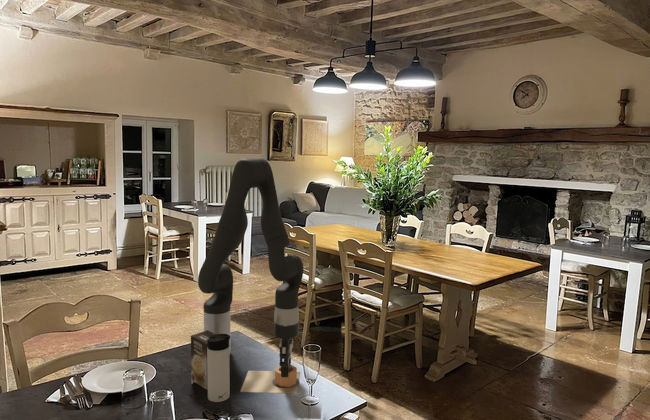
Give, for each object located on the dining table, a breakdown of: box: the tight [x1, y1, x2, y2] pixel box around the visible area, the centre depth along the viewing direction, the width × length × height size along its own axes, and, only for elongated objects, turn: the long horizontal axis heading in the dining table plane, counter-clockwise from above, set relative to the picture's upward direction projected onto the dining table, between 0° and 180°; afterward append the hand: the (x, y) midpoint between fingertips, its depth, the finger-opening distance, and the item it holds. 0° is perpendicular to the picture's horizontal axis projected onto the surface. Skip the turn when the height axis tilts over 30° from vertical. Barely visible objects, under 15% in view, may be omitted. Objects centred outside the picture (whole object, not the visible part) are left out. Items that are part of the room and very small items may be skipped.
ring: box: [274, 364, 298, 387], centre depth 149 cm, size 6×6×4 cm
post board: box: [239, 365, 301, 395], centre depth 149 cm, size 17×14×8 cm
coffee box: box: [190, 330, 216, 391], centre depth 148 cm, size 9×6×16 cm
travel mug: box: [207, 334, 231, 403], centre depth 138 cm, size 6×7×20 cm
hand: (286, 370), depth 148 cm, fingers open, 7 cm apart
